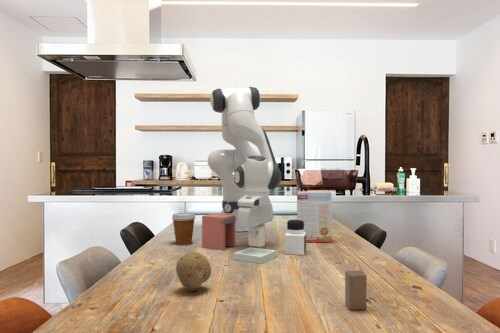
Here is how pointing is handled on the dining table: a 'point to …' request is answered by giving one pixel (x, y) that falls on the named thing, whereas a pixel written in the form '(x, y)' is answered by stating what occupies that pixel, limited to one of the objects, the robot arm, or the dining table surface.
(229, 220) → the block
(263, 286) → the dining table surface
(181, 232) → the disposable coffee cup
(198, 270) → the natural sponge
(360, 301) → the wooden block
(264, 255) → the dish
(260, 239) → the tall beige block
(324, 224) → the cracker box
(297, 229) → the medicine bottle
